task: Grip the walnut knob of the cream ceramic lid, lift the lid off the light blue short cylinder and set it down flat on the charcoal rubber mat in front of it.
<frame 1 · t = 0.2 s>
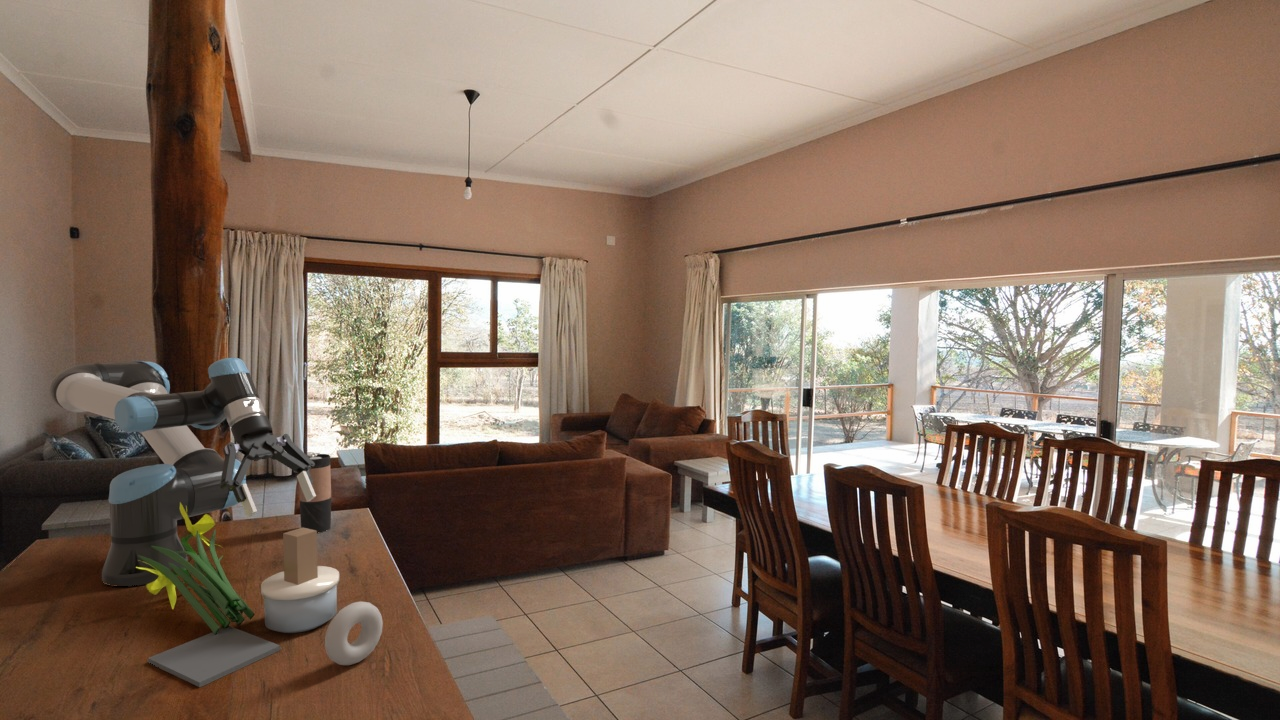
hand: (283, 506, 141), 16 cm above the table, tool tilted 35°, fingers open, 13 cm apart
mat: (215, 656, 109), on the table
lid: (301, 585, 121), point 7 cm above the table, touching light blue short cylinder
donut: (355, 663, 107), on the table
daffodil flowers: (209, 606, 127), on the table, touching mat
travel mug: (316, 530, 175), on the table
light blue short cylinder: (301, 621, 122), on the table
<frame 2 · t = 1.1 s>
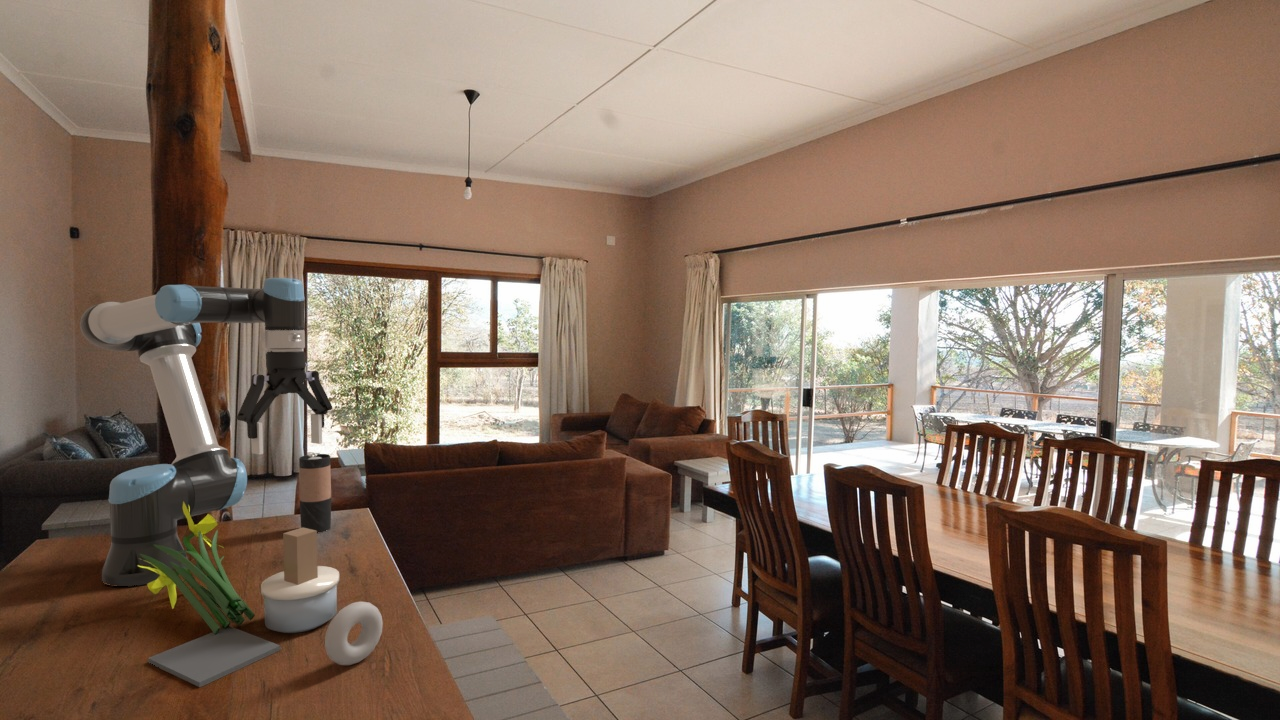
hand: (288, 448, 140), 29 cm above the table, tool pointing down, fingers open, 13 cm apart
nothing on the table moved.
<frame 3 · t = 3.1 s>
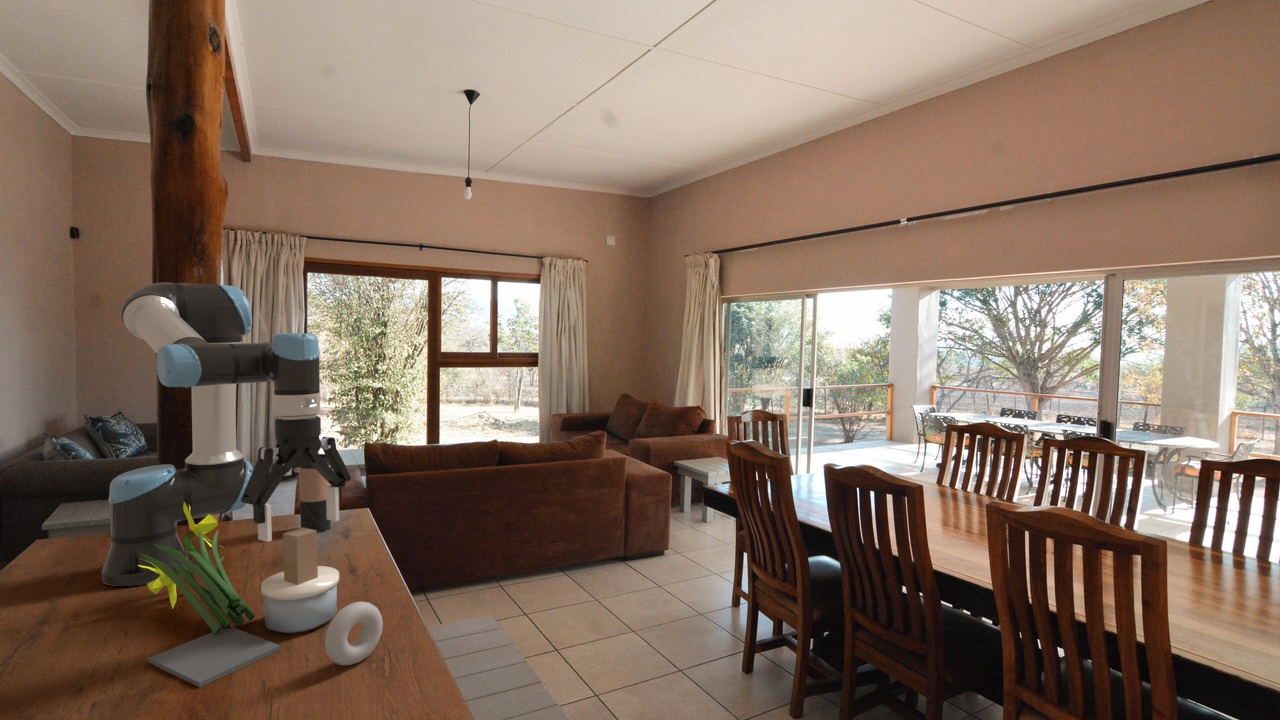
hand: (300, 529, 120), 18 cm above the table, tool pointing down, fingers open, 13 cm apart
nothing on the table moved.
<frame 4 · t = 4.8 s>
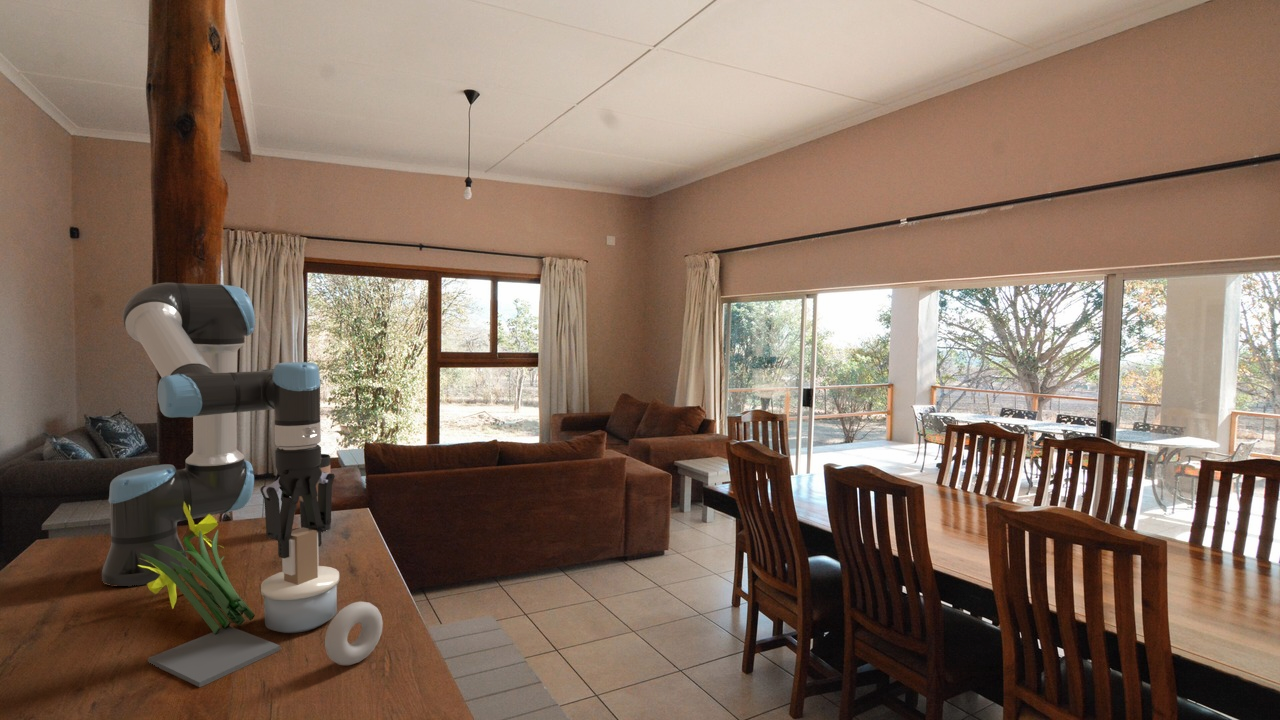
hand: (300, 568, 121), 10 cm above the table, tool pointing down, fingers closed on lid, 4 cm apart
lid: (301, 585, 121), point 7 cm above the table, touching light blue short cylinder, gripper
everything else where it was.
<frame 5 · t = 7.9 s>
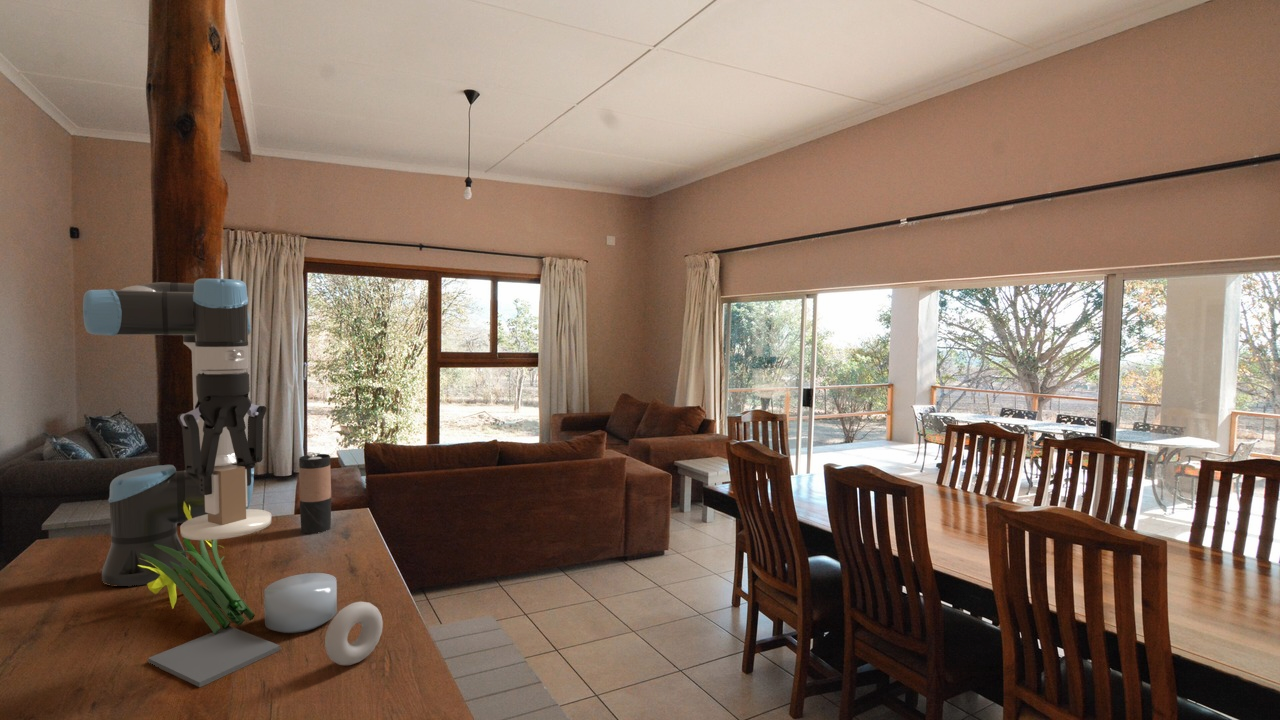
hand: (226, 508, 109), 25 cm above the table, tool pointing down, fingers closed on lid, 4 cm apart
lid: (227, 527, 109), point 22 cm above the table, touching gripper
everything else where it was.
when the fingers open (6 cm above the table, at t = 11.3 s): lid drops 2 cm, resting on mat.
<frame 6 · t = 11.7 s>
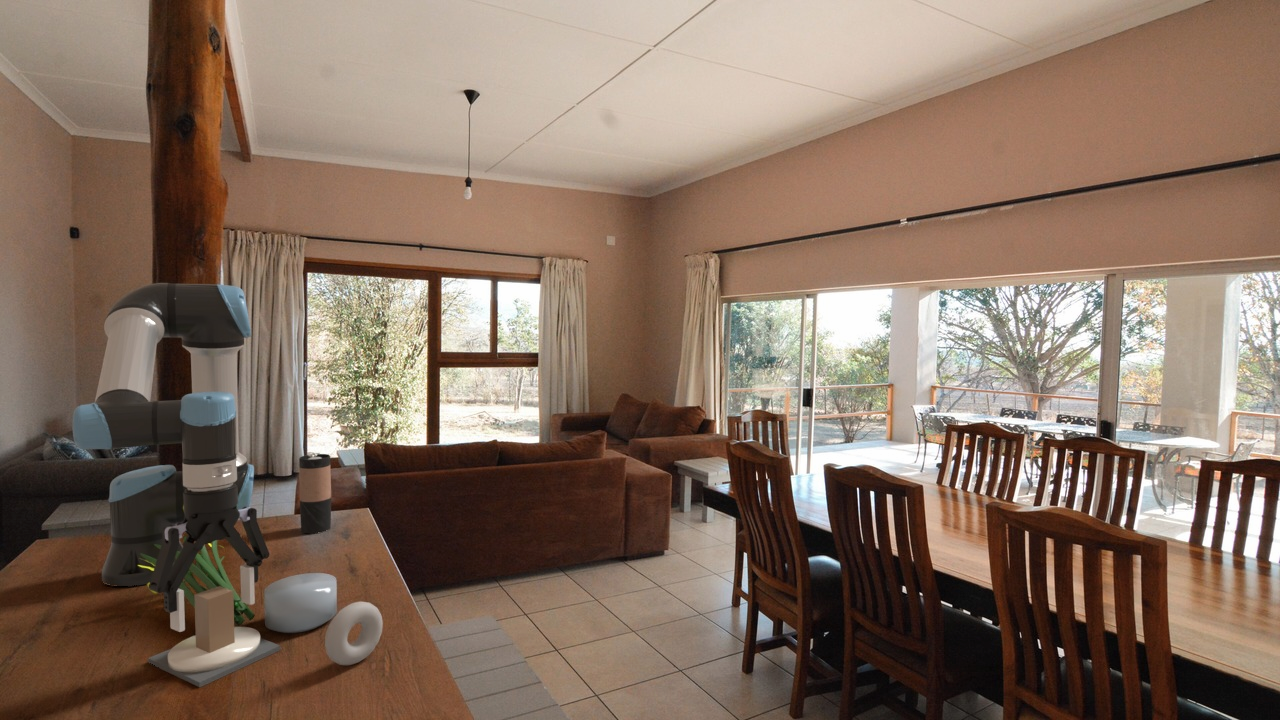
hand: (214, 615, 108), 7 cm above the table, tool pointing down, fingers open, 10 cm apart
lid: (215, 651, 109), point 1 cm above the table, touching mat
everything else where it was.
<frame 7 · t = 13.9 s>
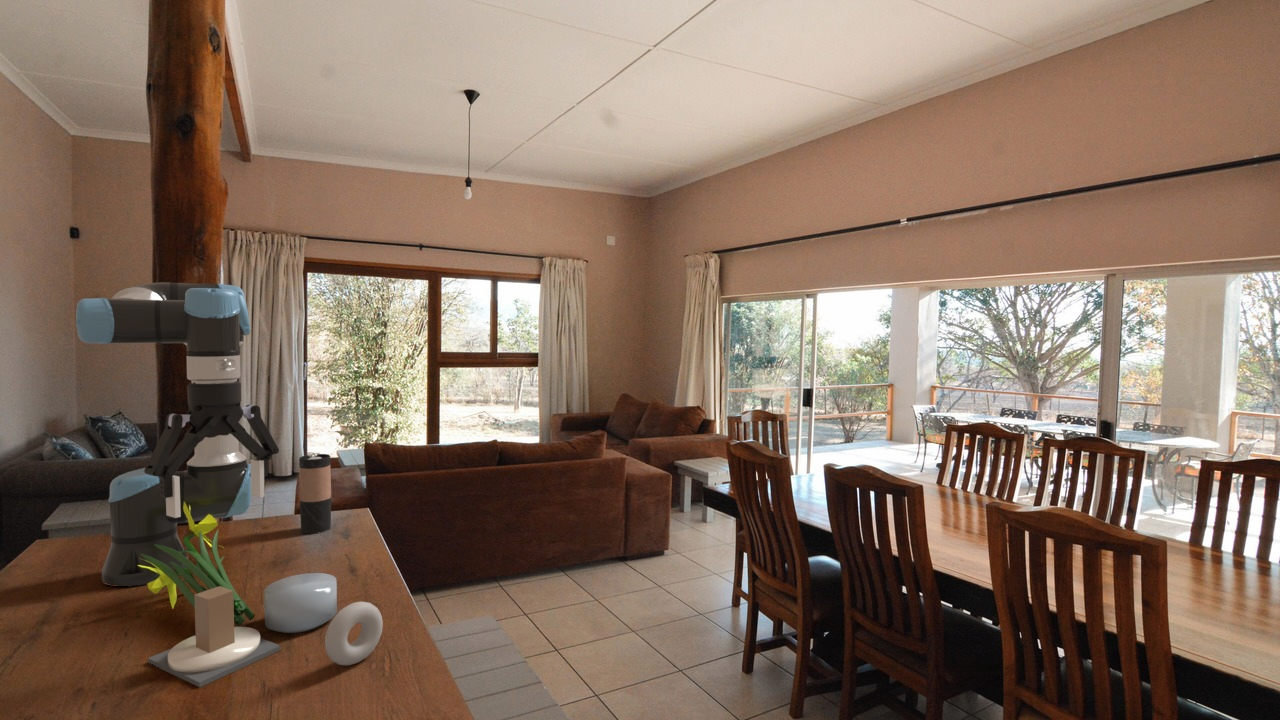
hand: (218, 505, 109), 25 cm above the table, tool pointing down, fingers open, 13 cm apart
nothing on the table moved.
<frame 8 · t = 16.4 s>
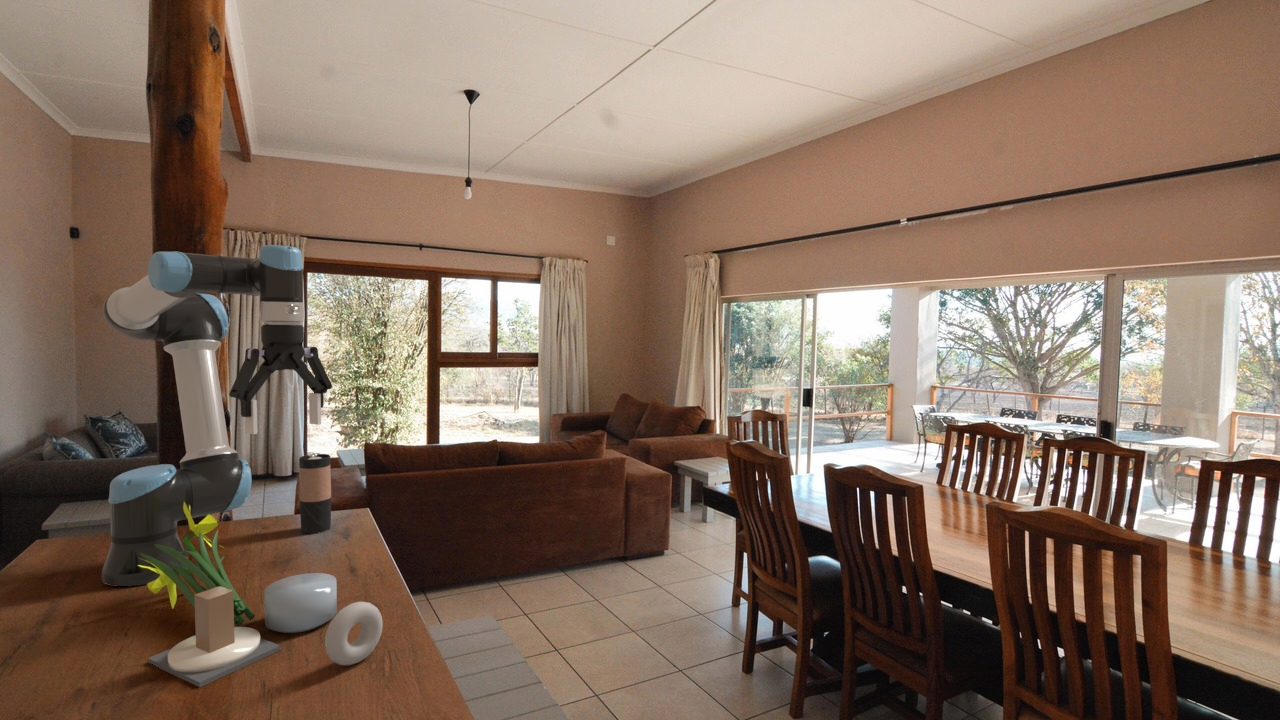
hand: (284, 428, 131), 35 cm above the table, tool pointing down, fingers open, 13 cm apart
nothing on the table moved.
at the end: lid inside the target area on the mat (0.0 cm from its centre), point 0.8 cm above the mat's base; lid tilted 0°; lid touching mat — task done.
